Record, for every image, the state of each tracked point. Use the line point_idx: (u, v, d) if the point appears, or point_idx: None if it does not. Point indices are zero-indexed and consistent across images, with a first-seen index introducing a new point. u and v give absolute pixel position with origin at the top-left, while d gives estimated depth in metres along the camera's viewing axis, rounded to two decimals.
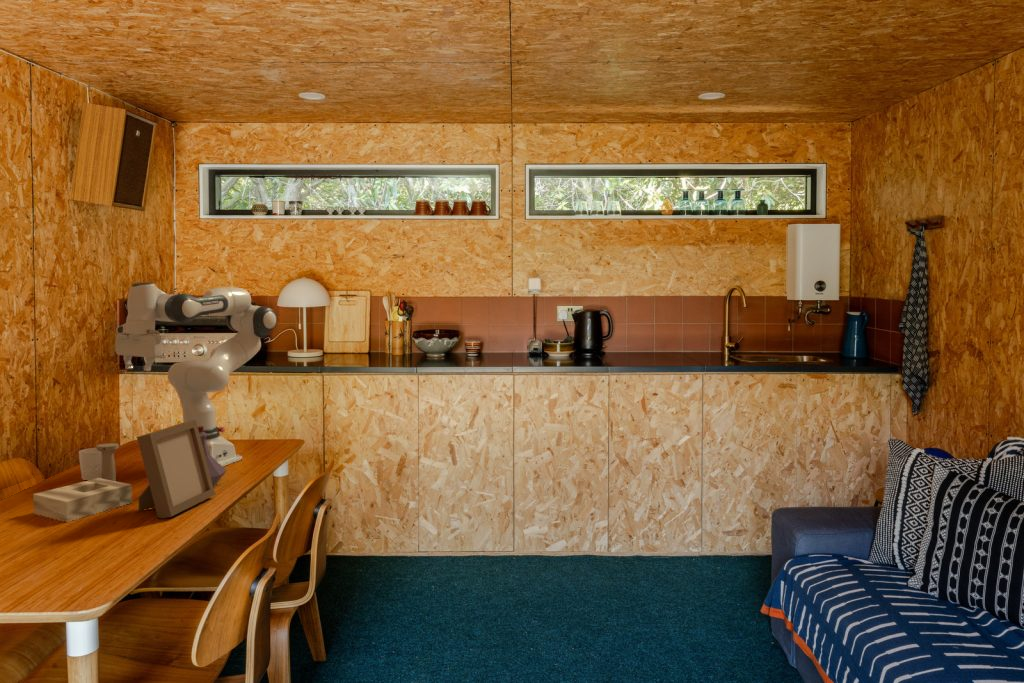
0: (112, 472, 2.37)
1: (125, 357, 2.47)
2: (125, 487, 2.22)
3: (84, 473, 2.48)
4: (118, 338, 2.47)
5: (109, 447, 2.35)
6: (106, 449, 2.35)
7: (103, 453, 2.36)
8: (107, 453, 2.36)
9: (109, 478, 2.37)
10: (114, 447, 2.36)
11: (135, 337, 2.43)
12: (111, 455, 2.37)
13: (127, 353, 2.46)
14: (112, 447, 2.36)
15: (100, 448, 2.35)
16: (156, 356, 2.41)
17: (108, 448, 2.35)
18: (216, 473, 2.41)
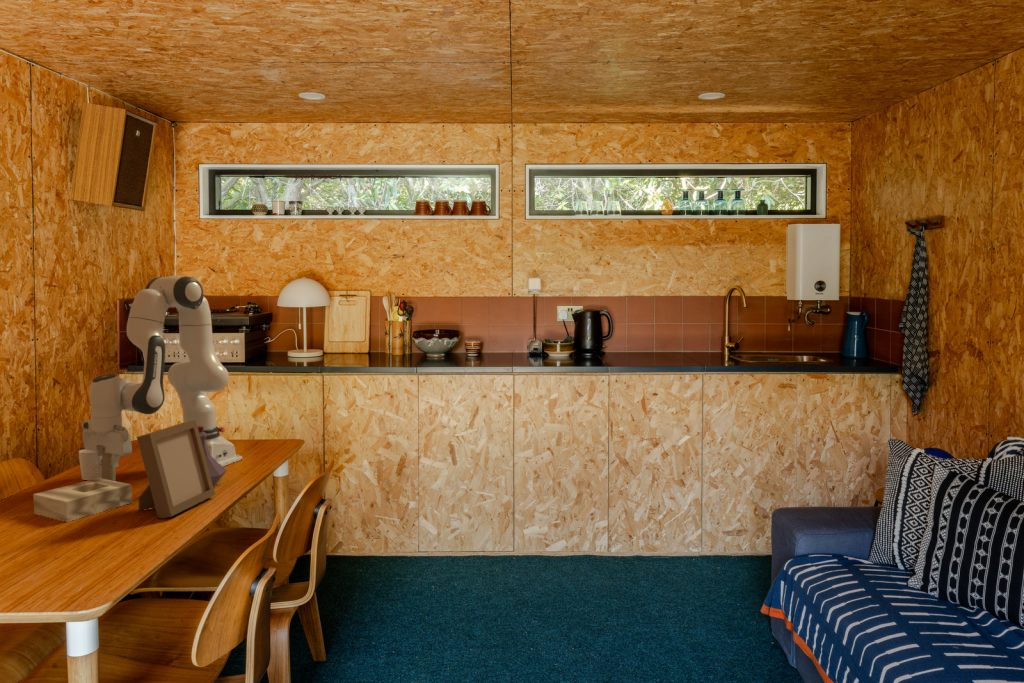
0: (112, 472, 2.37)
1: (97, 453, 2.38)
2: (125, 487, 2.22)
3: (84, 473, 2.48)
4: (85, 433, 2.39)
5: None
6: None
7: (103, 453, 2.36)
8: (107, 453, 2.36)
9: (109, 478, 2.37)
10: None
11: (102, 434, 2.34)
12: (111, 455, 2.37)
13: (95, 449, 2.37)
14: None
15: (100, 448, 2.35)
16: (125, 454, 2.32)
17: None
18: (216, 473, 2.41)
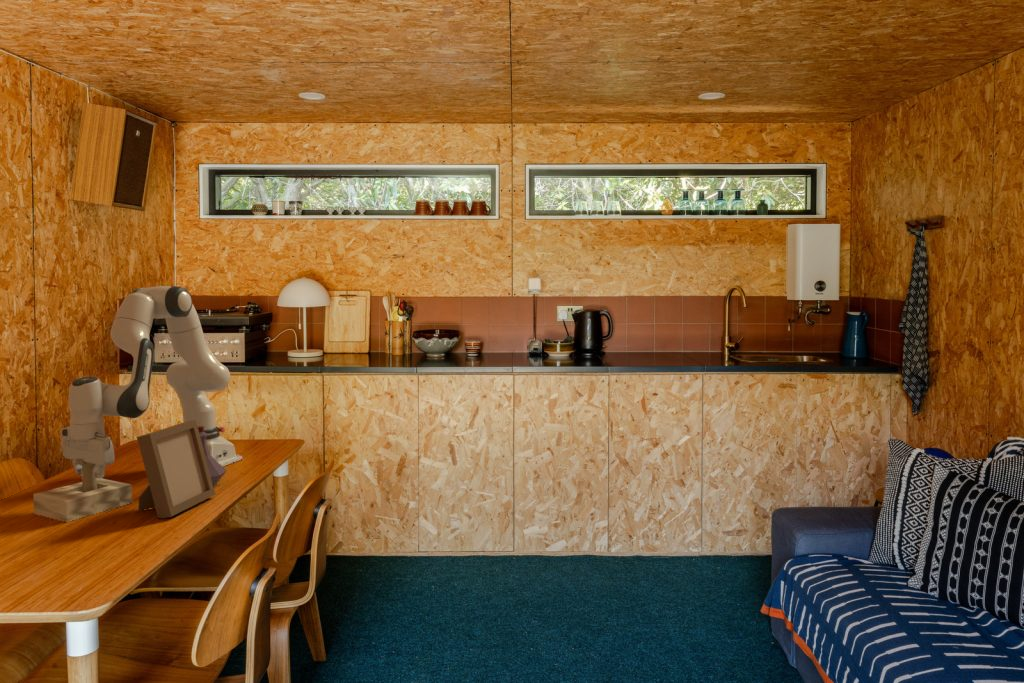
0: (93, 487, 2.20)
1: (74, 461, 2.21)
2: (125, 487, 2.22)
3: None
4: (64, 441, 2.21)
5: None
6: None
7: (83, 467, 2.18)
8: (88, 467, 2.19)
9: None
10: None
11: (82, 442, 2.16)
12: (92, 469, 2.19)
13: (75, 458, 2.19)
14: None
15: (80, 461, 2.18)
16: (107, 463, 2.14)
17: None
18: (216, 473, 2.41)
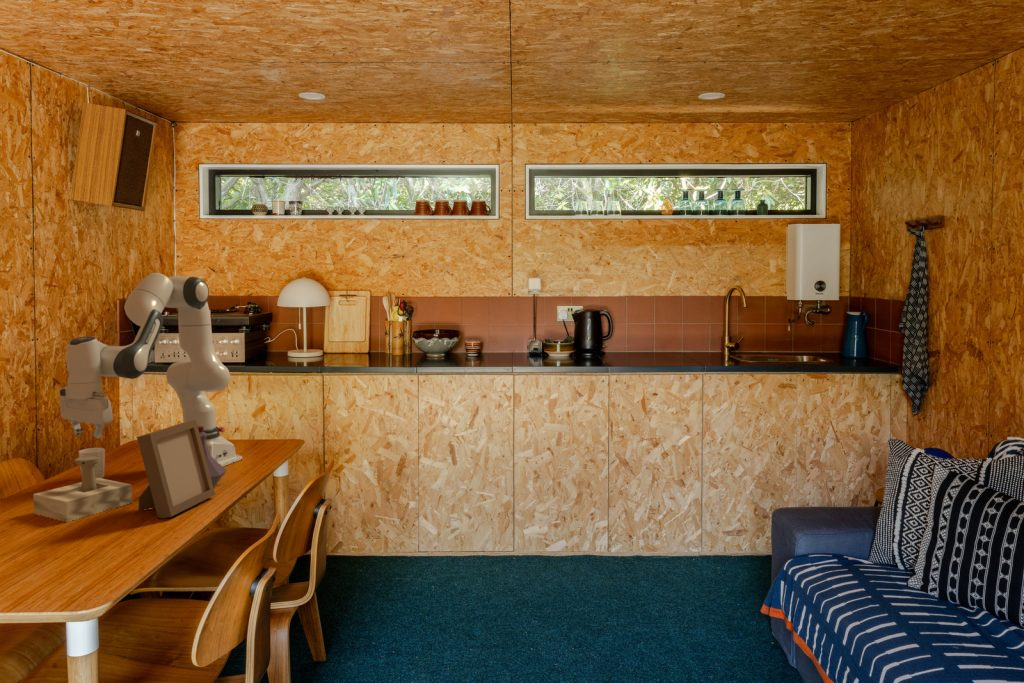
0: (93, 487, 2.19)
1: (72, 422, 2.20)
2: (125, 487, 2.22)
3: None
4: (62, 401, 2.19)
5: (89, 461, 2.17)
6: (85, 463, 2.17)
7: (82, 467, 2.18)
8: (87, 467, 2.18)
9: None
10: (94, 460, 2.18)
11: (80, 402, 2.15)
12: (91, 470, 2.19)
13: (74, 418, 2.18)
14: (92, 461, 2.18)
15: (79, 462, 2.17)
16: (105, 422, 2.13)
17: (87, 462, 2.17)
18: (216, 473, 2.41)
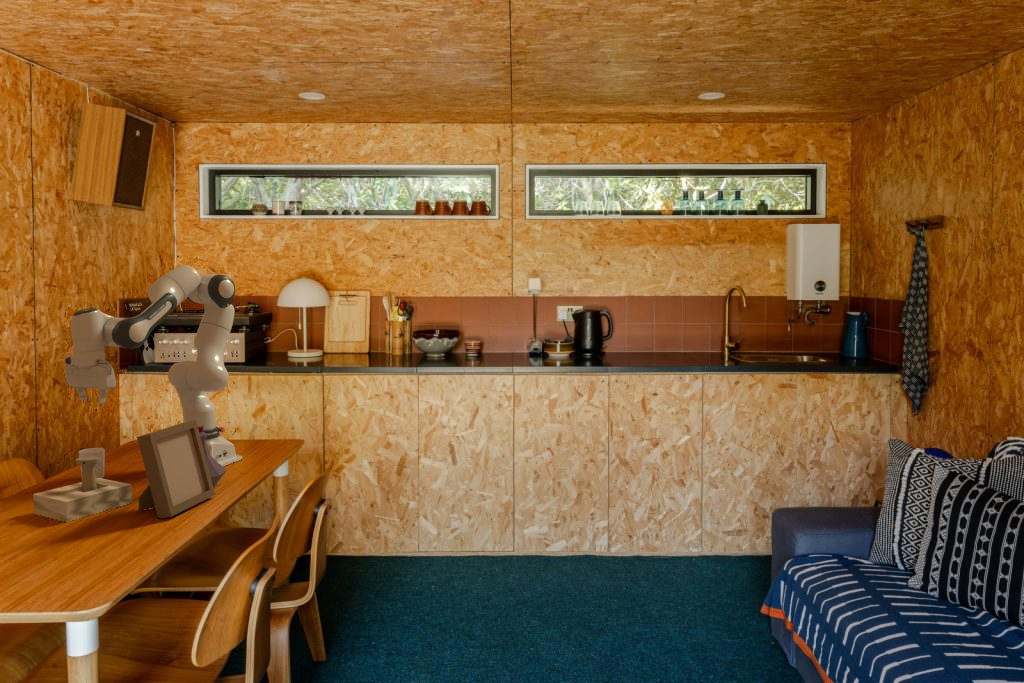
0: (93, 487, 2.19)
1: (77, 388, 2.35)
2: (125, 487, 2.22)
3: None
4: (67, 369, 2.35)
5: (89, 461, 2.17)
6: (86, 463, 2.17)
7: (83, 467, 2.18)
8: (87, 467, 2.18)
9: None
10: (94, 460, 2.18)
11: (84, 369, 2.30)
12: (91, 470, 2.19)
13: (79, 385, 2.34)
14: (93, 461, 2.18)
15: (79, 462, 2.17)
16: (109, 388, 2.29)
17: (88, 462, 2.17)
18: (216, 473, 2.41)
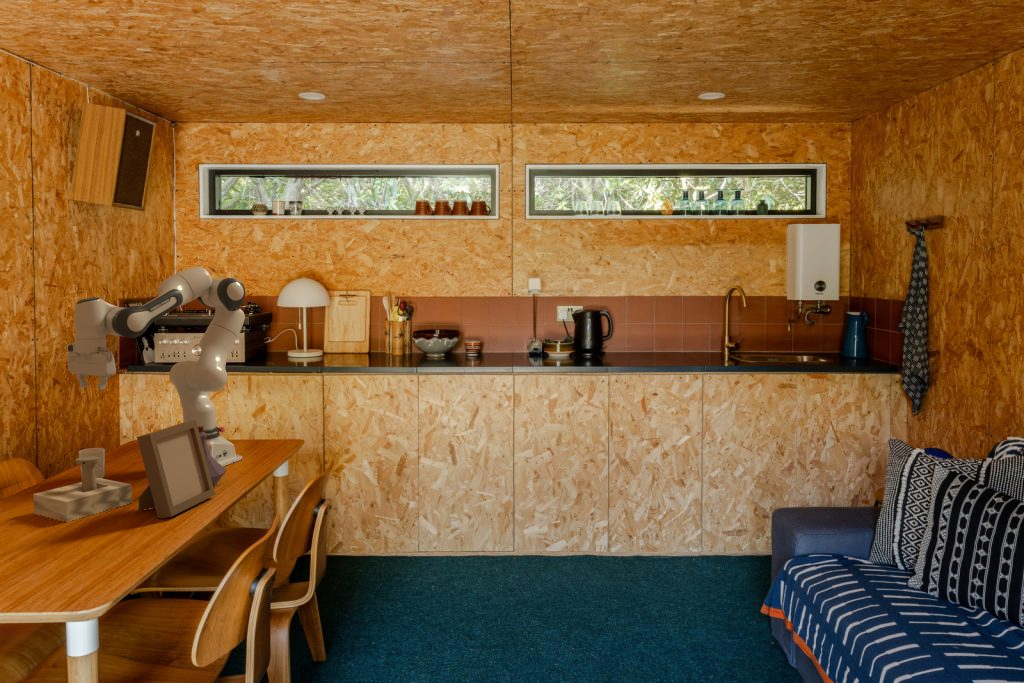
0: (93, 487, 2.19)
1: (79, 375, 2.42)
2: (125, 487, 2.22)
3: None
4: (70, 356, 2.41)
5: (89, 461, 2.17)
6: (86, 463, 2.17)
7: (83, 467, 2.18)
8: (87, 467, 2.18)
9: None
10: (94, 460, 2.18)
11: (86, 356, 2.36)
12: (91, 470, 2.19)
13: (80, 372, 2.40)
14: (92, 461, 2.18)
15: (79, 462, 2.17)
16: (109, 375, 2.35)
17: (88, 462, 2.17)
18: (216, 473, 2.41)
